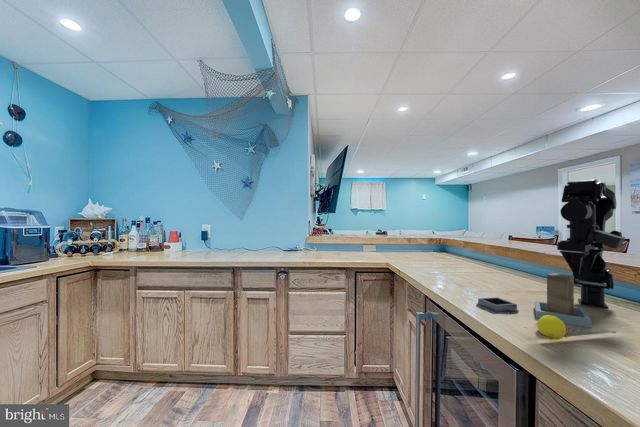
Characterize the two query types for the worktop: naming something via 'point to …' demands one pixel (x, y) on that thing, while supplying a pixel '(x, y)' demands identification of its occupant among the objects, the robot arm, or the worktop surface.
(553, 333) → the lemon
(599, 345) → the worktop surface
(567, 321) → the tray
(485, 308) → the base
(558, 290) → the post
